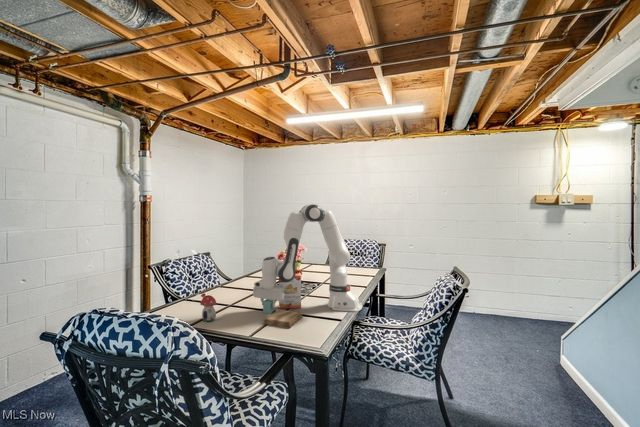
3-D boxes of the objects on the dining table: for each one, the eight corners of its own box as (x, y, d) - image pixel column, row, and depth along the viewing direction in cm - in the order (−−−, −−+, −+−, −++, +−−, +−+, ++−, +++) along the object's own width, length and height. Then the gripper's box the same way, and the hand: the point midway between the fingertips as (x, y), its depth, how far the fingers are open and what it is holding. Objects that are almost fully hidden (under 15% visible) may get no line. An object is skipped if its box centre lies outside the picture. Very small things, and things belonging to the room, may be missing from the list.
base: (302, 317, 175) (302, 312, 175) (290, 328, 160) (290, 322, 160) (277, 313, 181) (277, 308, 181) (263, 323, 166) (263, 318, 166)
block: (274, 310, 186) (274, 299, 185) (270, 313, 181) (270, 302, 181) (267, 309, 188) (267, 298, 187) (263, 312, 183) (263, 301, 183)
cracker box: (279, 309, 189) (278, 276, 188) (279, 305, 195) (278, 274, 194) (301, 308, 190) (300, 275, 189) (301, 304, 196) (300, 273, 195)
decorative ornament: (198, 320, 171) (198, 293, 170) (207, 316, 177) (207, 291, 176) (209, 323, 166) (209, 296, 166) (218, 319, 172) (218, 293, 172)
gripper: (286, 284, 182) (285, 306, 183) (257, 280, 190) (256, 302, 190) (281, 287, 177) (281, 310, 177) (251, 282, 184) (251, 305, 184)
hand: (268, 306), depth 184 cm, fingers closed on block, 5 cm apart
